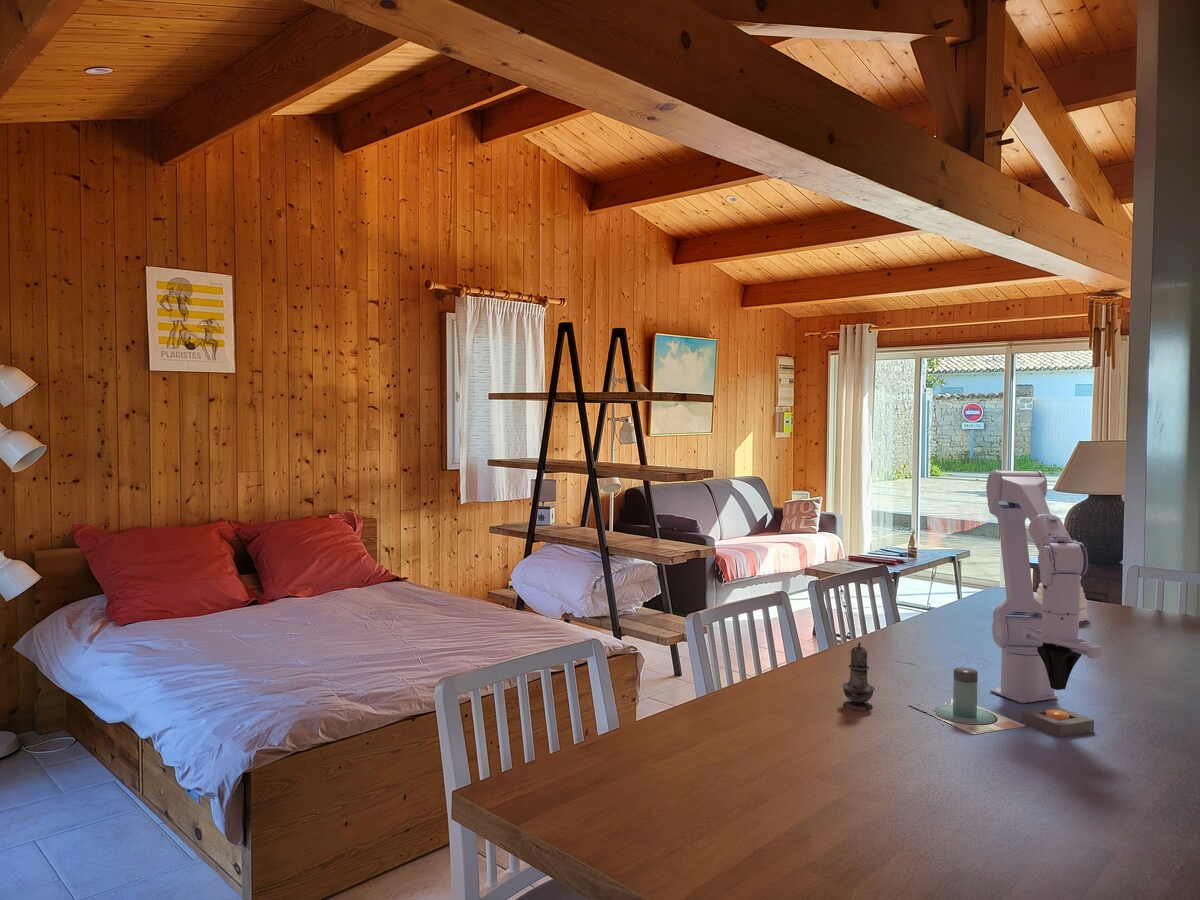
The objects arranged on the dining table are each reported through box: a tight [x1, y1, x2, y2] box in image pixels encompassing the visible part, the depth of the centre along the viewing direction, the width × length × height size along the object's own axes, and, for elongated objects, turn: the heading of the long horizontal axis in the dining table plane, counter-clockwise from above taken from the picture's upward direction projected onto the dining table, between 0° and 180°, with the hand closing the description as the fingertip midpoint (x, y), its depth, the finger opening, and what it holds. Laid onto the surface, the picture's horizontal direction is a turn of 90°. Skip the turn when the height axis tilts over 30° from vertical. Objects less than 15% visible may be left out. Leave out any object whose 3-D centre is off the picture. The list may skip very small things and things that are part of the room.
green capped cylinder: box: [952, 667, 979, 718], centre depth 158 cm, size 4×4×8 cm
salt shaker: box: [841, 641, 876, 712], centre depth 162 cm, size 6×6×12 cm
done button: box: [1046, 710, 1069, 721], centre depth 153 cm, size 4×4×2 cm
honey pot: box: [1034, 576, 1088, 620], centre depth 239 cm, size 13×13×18 cm
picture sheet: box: [933, 698, 1027, 735], centre depth 158 cm, size 12×16×1 cm
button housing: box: [1020, 705, 1095, 738], centre depth 153 cm, size 8×8×2 cm
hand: (1057, 688), depth 152 cm, fingers closed
